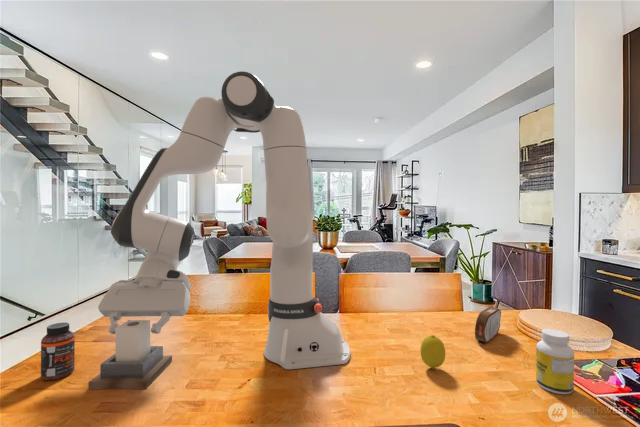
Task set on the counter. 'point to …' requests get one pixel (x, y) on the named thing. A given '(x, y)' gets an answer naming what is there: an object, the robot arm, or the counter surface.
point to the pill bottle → (555, 362)
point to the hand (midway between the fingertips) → (134, 332)
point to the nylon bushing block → (132, 341)
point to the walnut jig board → (130, 379)
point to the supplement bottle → (57, 352)
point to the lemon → (433, 351)
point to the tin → (487, 324)
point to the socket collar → (131, 365)
